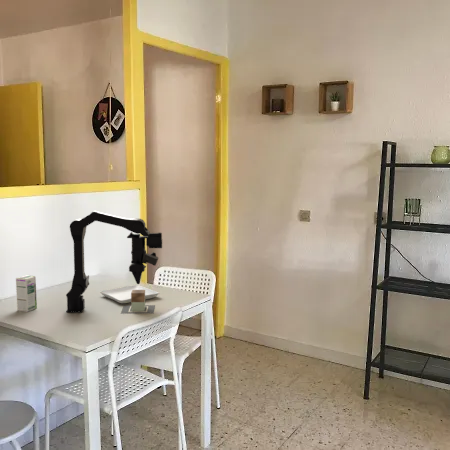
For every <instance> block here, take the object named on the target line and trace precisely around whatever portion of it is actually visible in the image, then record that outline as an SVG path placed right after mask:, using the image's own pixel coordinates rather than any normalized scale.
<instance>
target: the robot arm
mask: <svg viewBox="0 0 450 450" xmlns="http://www.w3.org/2000/svg"><path fill="white" fill-rule="evenodd" d="M95 222H100V223H104V224H108V225H113V226H116V227H122V228H124V229H125V230H127V231H129V232H130V233H129V234H128V235H127V236H126V238H127V239H131V260H130V261H131V262H130V263H131V264H129V266H128V267H129V268H128V271H129V272H131V274H132V276H133V279H134V280H135V283H136V285H139V284H140V283H141V279H142V274H143V273H144V272H145V271H146V267H147V264H150V265H152V266H153V267H154V266H155V267H156V265H157V263H158V260H159V257H158V256H157V253H156V252H151V253H147V249H146V247H148V249H162V248H163V233H162V232H150V231H149V229H148V227H146V222H145V220H143V219H142V218H133V217H132V218H131V217H129V218H128V217H123V216H117V215H114V214H109V213H106V212H100V211H98V210H93V211H92V212H90V214H88V215H86V216H85V217H83V218H76V219H74V220H73V221H72V222H71V223H70V224H69V230H70V231H69V232H70V235H71V238H72V242H73V267H74V268H73V270H74V271H73V272H74V273H73V277H72V281H71V288H70V290H69V291H68V292H67V293H66V294H65V296H66V301H67V302H66V305H67V306H66V309H67V310H65V311H66V313H82V312H83V311H84V310H85V308H86V307H85V304H86V303H85V302H86V301H85V298H84V295H83V294H84V293H85V292H86V290H87V289H88V287H89V285H90V281H89V279H90V275H86V273H85V271H86V270H85V244H84V243H85V242H84V241H85V237H86V233H87V227H88V226H90V225H92V224H93V223H95Z"/></svg>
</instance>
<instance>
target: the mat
mask: <svg viewBox="0 0 450 450" xmlns="http://www.w3.org/2000/svg"><path fill="white" fill-rule="evenodd" d="M155 309H156V305H155V304H152V305H151V304H150V305H147V304H145V310H144V311H131V305H130V304H129V305H128V304H125V305H123V306H122V309H121V311H120V314H123V315H125V314H127V315H128V314H130V315H131V314H134V315H137V314H138V315H139V314H141V315H142V314H145V315H147V314H154V313H155Z"/></svg>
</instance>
